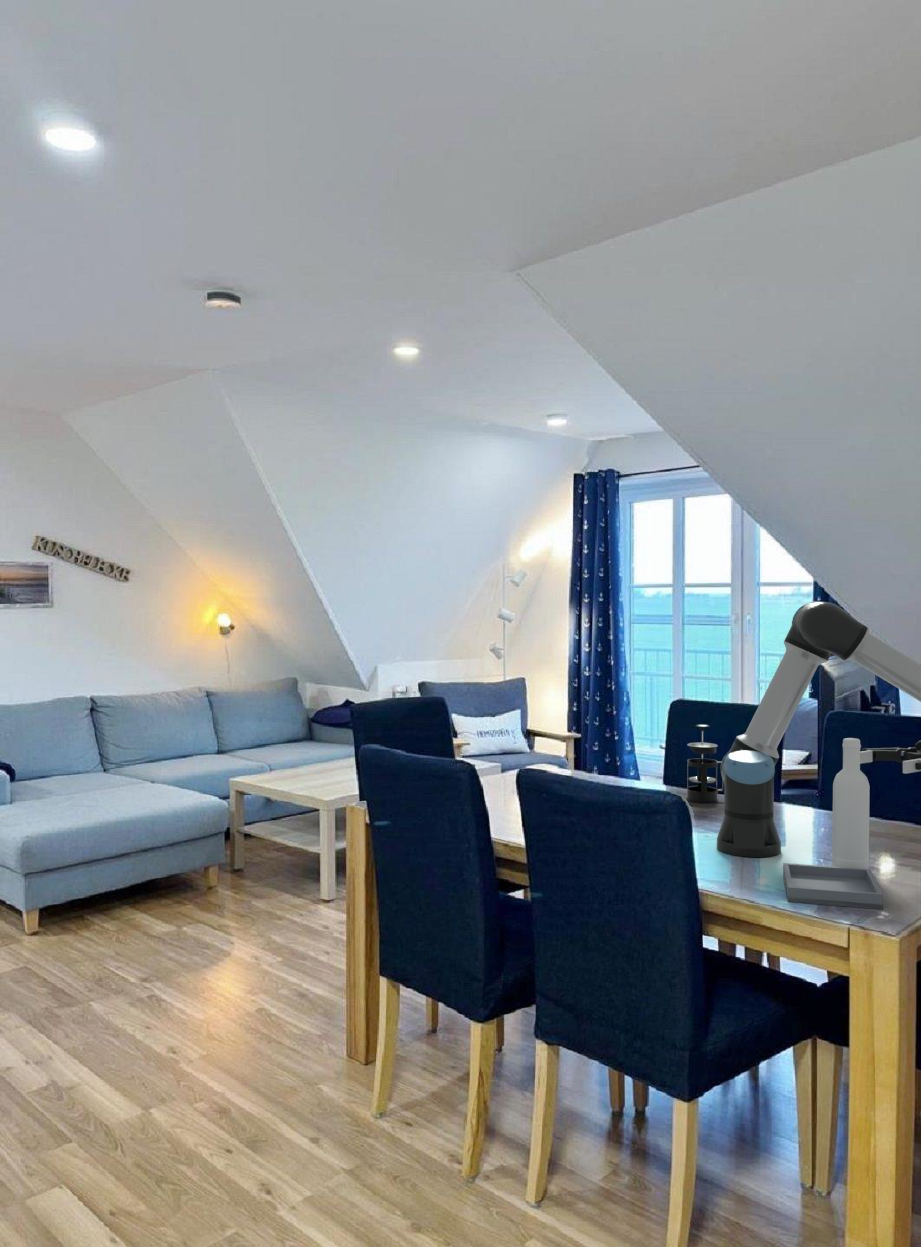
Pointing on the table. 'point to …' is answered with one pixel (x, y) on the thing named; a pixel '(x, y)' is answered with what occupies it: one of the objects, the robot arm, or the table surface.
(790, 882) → the tray
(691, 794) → the french press
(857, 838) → the bottle
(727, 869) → the table surface
